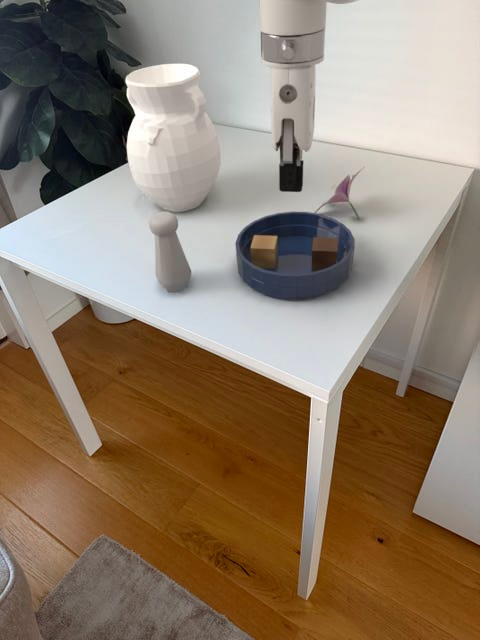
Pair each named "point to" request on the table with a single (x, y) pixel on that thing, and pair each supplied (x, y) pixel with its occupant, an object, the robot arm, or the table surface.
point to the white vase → (171, 137)
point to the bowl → (295, 255)
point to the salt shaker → (169, 253)
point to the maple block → (264, 251)
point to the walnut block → (324, 253)
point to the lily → (342, 192)
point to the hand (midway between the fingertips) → (291, 188)
